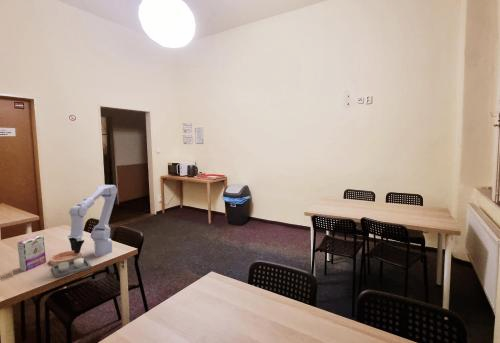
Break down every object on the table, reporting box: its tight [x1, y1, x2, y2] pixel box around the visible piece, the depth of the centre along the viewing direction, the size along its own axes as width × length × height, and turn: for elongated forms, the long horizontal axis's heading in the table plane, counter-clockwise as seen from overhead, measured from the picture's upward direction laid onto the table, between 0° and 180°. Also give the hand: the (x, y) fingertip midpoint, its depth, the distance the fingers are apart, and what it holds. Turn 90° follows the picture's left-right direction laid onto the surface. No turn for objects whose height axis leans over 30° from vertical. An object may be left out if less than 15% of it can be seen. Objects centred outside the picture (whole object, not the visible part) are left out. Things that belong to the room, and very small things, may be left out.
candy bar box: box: [16, 235, 47, 272], centre depth 146 cm, size 11×5×16 cm, turn 168°
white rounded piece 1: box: [58, 262, 69, 273], centre depth 142 cm, size 5×5×4 cm
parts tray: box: [51, 257, 92, 279], centre depth 145 cm, size 16×14×2 cm
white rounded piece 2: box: [74, 257, 85, 268], centre depth 147 cm, size 5×5×4 cm
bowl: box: [49, 250, 83, 266], centre depth 156 cm, size 15×15×3 cm
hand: (75, 251), depth 146 cm, fingers open, 7 cm apart
